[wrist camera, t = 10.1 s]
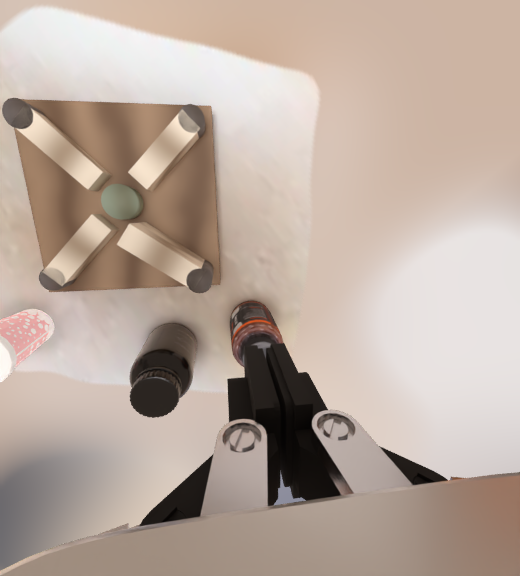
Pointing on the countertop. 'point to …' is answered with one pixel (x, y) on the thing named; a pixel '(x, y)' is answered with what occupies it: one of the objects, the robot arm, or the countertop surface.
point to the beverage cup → (22, 337)
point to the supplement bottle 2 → (252, 329)
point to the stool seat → (115, 186)
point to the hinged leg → (167, 256)
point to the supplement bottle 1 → (163, 370)
